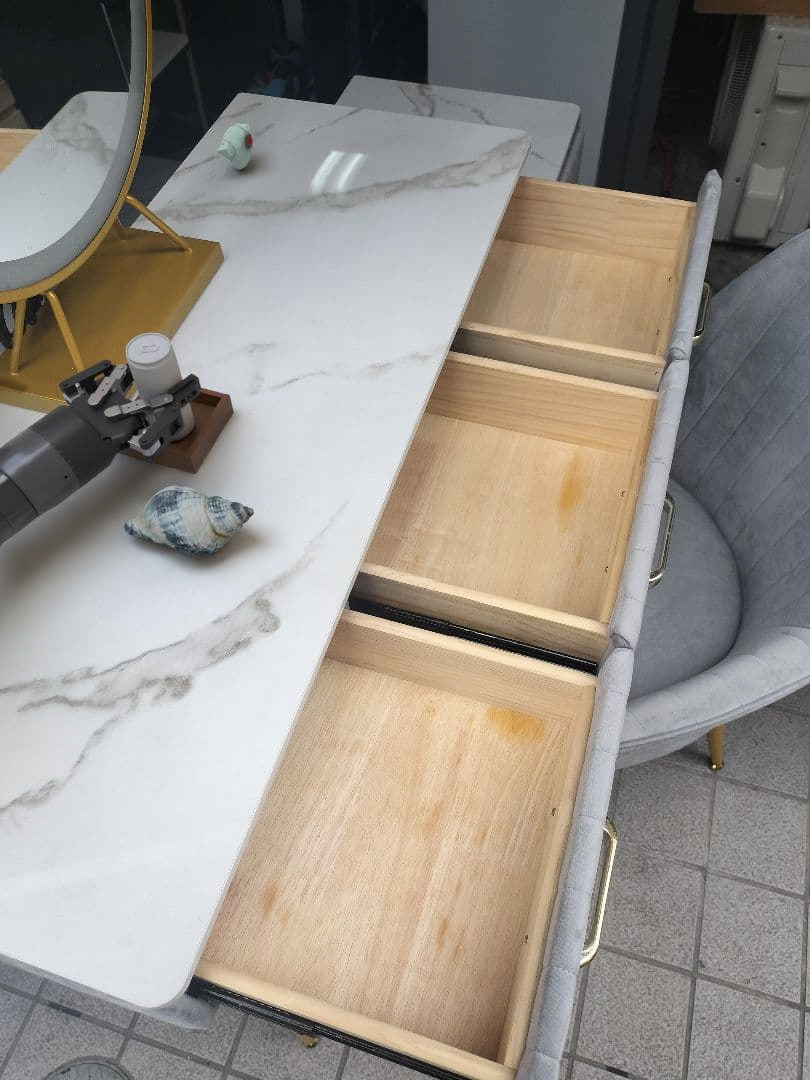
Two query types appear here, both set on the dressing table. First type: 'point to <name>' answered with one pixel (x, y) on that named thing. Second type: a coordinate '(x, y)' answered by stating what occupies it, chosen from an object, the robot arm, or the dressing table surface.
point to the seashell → (189, 520)
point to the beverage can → (156, 371)
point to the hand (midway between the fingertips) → (177, 368)
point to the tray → (195, 432)
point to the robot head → (237, 145)
